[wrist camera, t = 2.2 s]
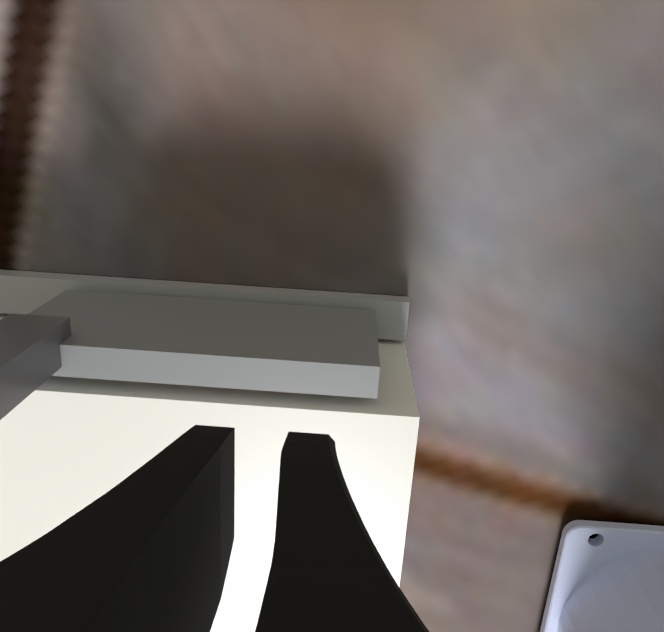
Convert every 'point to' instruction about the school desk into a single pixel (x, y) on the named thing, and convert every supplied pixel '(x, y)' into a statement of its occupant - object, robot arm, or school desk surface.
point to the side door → (189, 345)
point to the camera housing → (210, 410)
